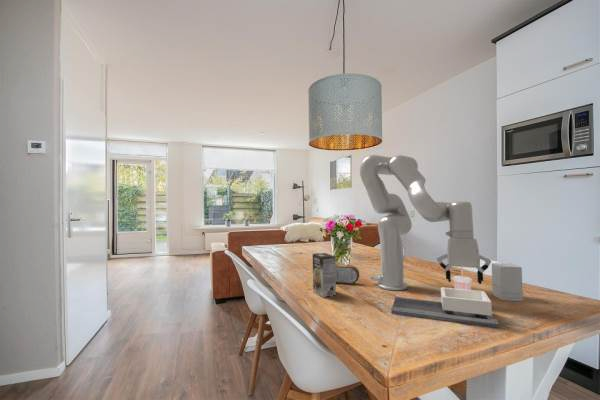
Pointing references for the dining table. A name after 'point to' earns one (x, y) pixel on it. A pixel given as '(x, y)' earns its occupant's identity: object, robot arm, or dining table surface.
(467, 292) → the cart
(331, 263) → the coffee box
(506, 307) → the dining table surface
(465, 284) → the beverage cup
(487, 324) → the track
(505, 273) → the supplement box
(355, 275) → the tin
